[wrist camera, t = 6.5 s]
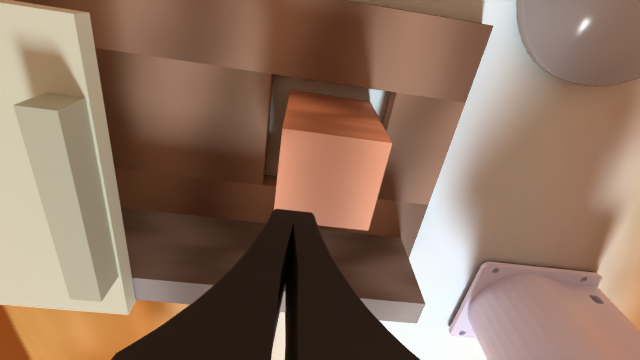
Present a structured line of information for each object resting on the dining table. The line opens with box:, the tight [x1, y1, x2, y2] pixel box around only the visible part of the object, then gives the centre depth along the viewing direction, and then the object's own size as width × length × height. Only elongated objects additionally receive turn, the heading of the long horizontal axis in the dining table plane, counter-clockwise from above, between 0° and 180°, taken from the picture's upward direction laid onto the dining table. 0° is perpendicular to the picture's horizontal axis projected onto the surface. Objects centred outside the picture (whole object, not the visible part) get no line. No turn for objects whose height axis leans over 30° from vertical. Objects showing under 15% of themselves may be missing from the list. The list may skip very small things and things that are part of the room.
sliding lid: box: [0, 0, 136, 315], centre depth 12 cm, size 7×13×2 cm, turn 171°
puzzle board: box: [13, 0, 493, 323], centre depth 17 cm, size 26×15×7 cm, turn 81°
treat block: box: [274, 90, 392, 231], centre depth 17 cm, size 4×4×6 cm
